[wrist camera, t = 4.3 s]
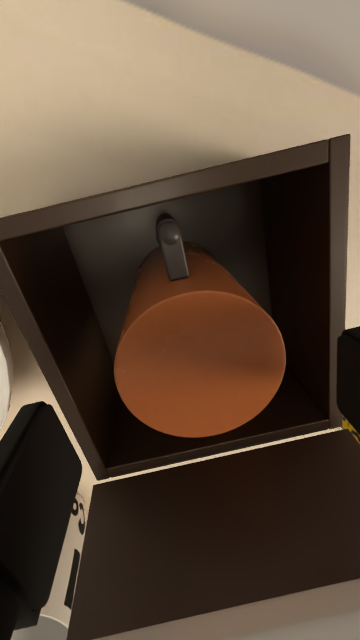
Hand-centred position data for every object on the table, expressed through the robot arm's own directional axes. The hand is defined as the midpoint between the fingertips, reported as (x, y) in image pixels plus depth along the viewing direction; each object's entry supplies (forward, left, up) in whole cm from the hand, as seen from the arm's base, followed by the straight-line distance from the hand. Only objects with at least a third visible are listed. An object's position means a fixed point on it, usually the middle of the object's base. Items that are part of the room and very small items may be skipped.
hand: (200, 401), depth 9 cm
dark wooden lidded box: (0, 0, -13) cm, 13 cm away
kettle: (0, 0, -12) cm, 12 cm away
